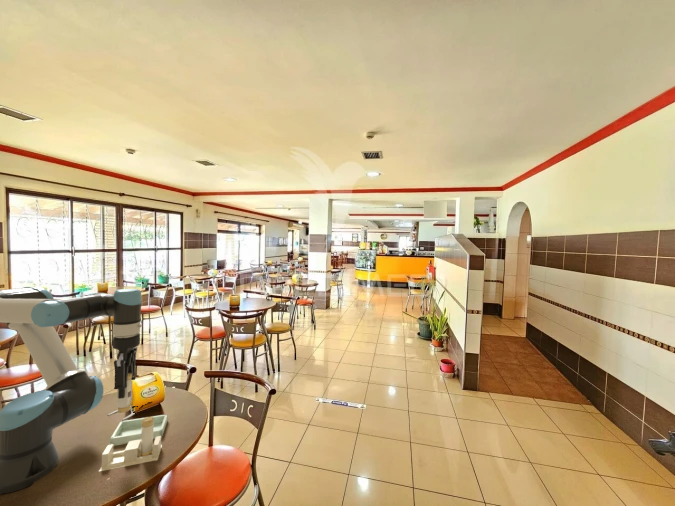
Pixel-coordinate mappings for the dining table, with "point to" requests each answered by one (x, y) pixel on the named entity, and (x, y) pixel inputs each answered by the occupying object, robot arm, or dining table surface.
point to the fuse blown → (125, 409)
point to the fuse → (147, 436)
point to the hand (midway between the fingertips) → (124, 403)
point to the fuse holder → (129, 455)
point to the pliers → (124, 418)
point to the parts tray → (137, 430)
